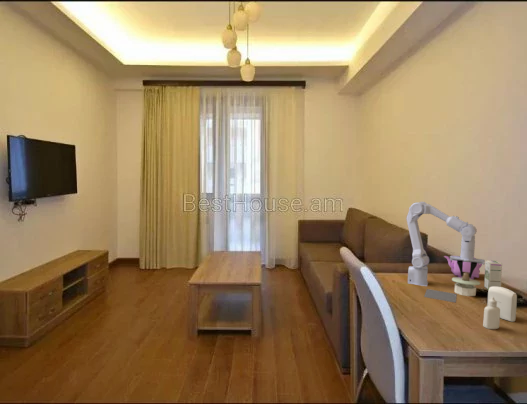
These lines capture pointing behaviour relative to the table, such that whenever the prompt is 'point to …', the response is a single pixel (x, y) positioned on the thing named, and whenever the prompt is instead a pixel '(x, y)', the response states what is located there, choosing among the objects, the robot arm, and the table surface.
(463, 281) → the lid
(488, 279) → the syrup box
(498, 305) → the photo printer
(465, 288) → the bowl
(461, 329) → the table surface
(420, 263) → the robot arm
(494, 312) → the eye dropper bottle
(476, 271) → the teapot
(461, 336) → the table surface
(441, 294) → the mat
